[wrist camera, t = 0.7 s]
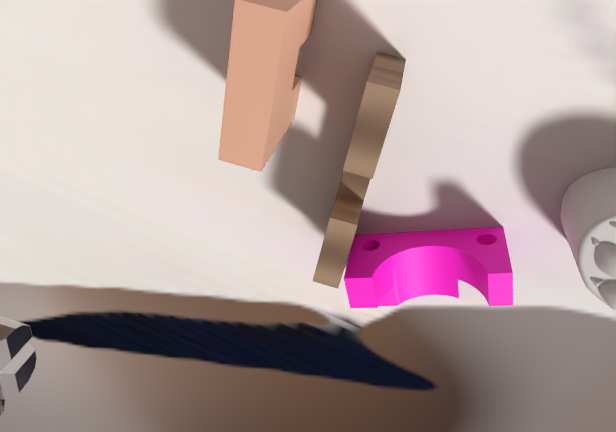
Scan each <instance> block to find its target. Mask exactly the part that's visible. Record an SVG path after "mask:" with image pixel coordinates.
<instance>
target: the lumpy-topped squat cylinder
mask: <svg viewBox="0 0 616 432" xmlns="http://www.w3.org/2000/svg"><path fill="white" fill-rule="evenodd" d="M560 219H561V223H562V226H563V229H564V232H565V235H566V237H567V240H568V243H569V245H570V248H571V251H572V253H573V256H574V259H575V261H576V264H577V266H578V269H579V272H580V274H581V277H582V279H583V281H584V283H585V285H586V287H587V288H588V289H589V290H590V291H591V292H592V293H593V294H594V295H595V296H597V297H598V298H599V299H600V300H601V301H603V302H604V303H606V304H607V305H608V306H610V307H611V308H612V309H614V310H616V167H611V168H605V169H601V170H597V171H593V172H590V173H588V174H585V175H583V176H581V177H580V178H578V179H577V180H575V181H574V182H573V183H572V184H571V185H570V186H569V187H568V189H567V190H566V192H565V193H564V196H563V198H562V202H561V208H560Z"/></svg>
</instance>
